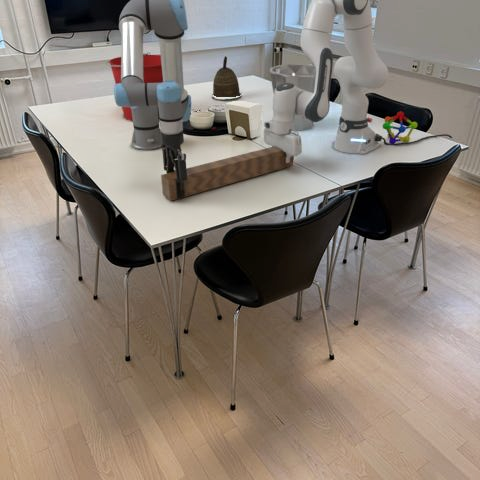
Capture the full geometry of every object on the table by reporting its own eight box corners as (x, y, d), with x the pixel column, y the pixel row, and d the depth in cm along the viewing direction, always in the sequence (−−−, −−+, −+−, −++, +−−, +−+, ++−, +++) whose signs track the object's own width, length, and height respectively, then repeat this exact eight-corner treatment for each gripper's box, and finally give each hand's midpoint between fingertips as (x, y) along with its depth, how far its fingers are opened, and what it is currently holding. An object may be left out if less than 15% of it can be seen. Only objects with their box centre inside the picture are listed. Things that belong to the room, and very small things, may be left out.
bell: (227, 105, 294) (202, 96, 282) (238, 66, 289) (213, 55, 277) (243, 108, 280) (217, 98, 268) (255, 66, 275) (229, 55, 263)
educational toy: (377, 146, 209) (379, 114, 202) (384, 138, 219) (386, 107, 211) (411, 149, 202) (415, 116, 195) (417, 141, 212) (420, 109, 204)
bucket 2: (296, 138, 215) (301, 78, 201) (255, 124, 234) (256, 68, 219) (335, 125, 232) (342, 70, 217) (294, 113, 251) (297, 61, 236)
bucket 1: (123, 106, 262) (116, 51, 247) (182, 106, 262) (178, 52, 246) (106, 123, 233) (97, 63, 217) (172, 124, 232) (168, 64, 216)
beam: (170, 200, 157) (168, 180, 152) (163, 195, 160) (161, 174, 156) (293, 165, 184) (294, 147, 180) (284, 161, 188) (285, 143, 184)
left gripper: (195, 137, 143) (198, 200, 156) (169, 122, 156) (173, 182, 169) (175, 141, 140) (180, 206, 152) (149, 126, 152) (156, 186, 165)
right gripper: (306, 132, 170) (304, 165, 177) (273, 119, 184) (272, 150, 191) (294, 135, 167) (292, 169, 174) (261, 121, 181) (260, 153, 188)
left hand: (176, 193), depth 160 cm, fingers closed on beam, 6 cm apart
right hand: (281, 159), depth 183 cm, fingers closed on beam, 5 cm apart
